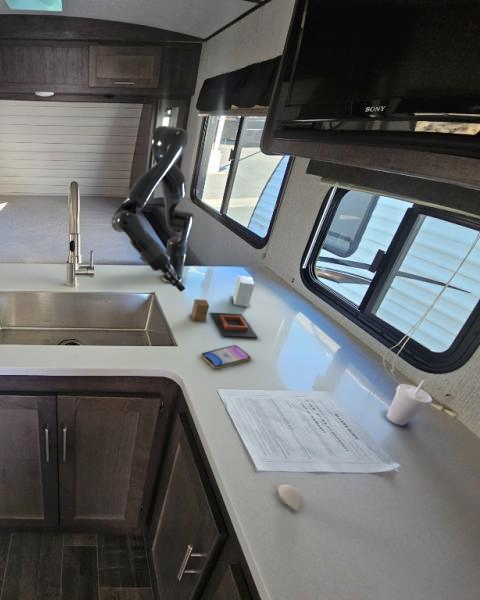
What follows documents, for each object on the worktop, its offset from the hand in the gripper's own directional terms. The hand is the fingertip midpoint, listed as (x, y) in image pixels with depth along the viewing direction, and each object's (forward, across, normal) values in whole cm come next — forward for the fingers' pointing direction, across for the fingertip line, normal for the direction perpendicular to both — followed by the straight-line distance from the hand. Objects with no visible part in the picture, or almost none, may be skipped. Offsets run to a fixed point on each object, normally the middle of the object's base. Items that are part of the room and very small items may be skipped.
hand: (180, 284), depth 120 cm
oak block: (+17, 0, +4) cm, 17 cm away
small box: (+32, +16, -12) cm, 38 cm away
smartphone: (+19, -24, +2) cm, 31 cm away
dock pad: (+25, -4, -5) cm, 26 cm away
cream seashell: (+18, -70, +3) cm, 72 cm away
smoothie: (+45, -46, -24) cm, 69 cm away
